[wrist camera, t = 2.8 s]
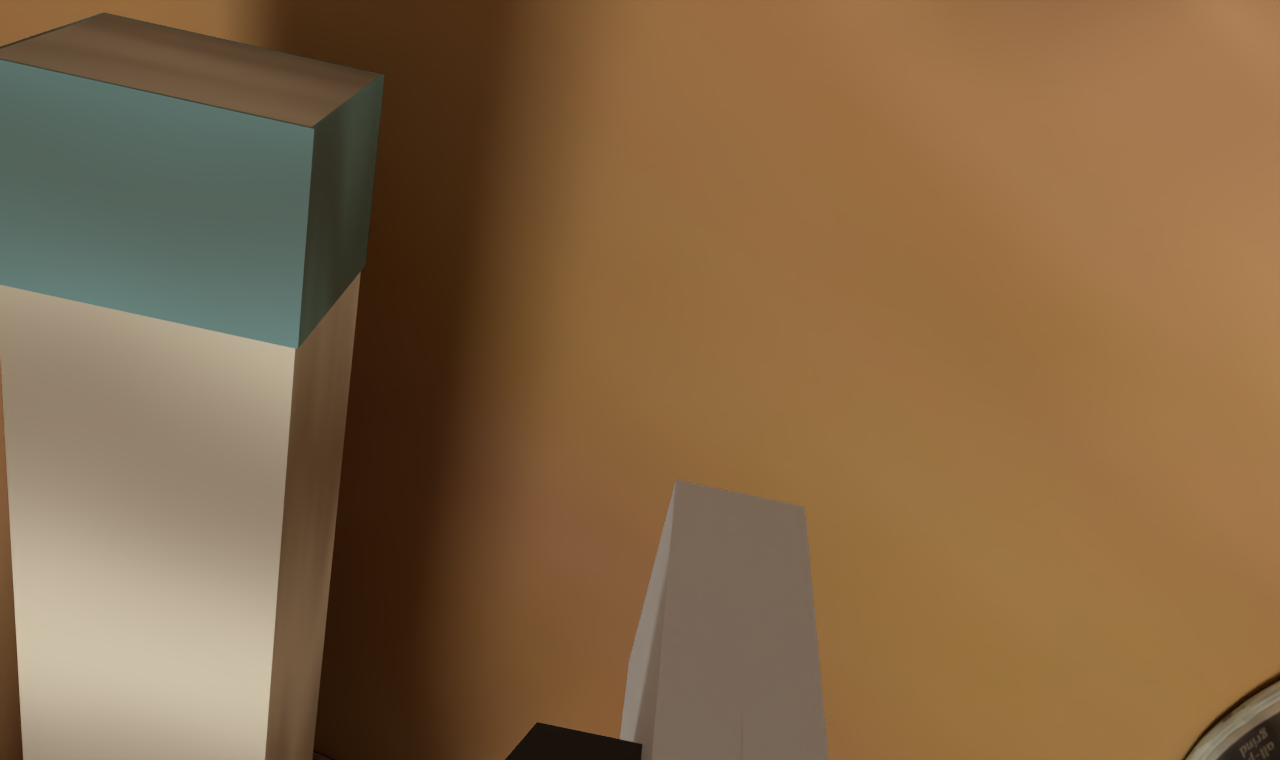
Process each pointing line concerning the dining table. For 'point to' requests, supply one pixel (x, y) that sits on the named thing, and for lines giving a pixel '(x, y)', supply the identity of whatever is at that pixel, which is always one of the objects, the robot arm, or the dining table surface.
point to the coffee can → (1245, 731)
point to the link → (176, 382)
